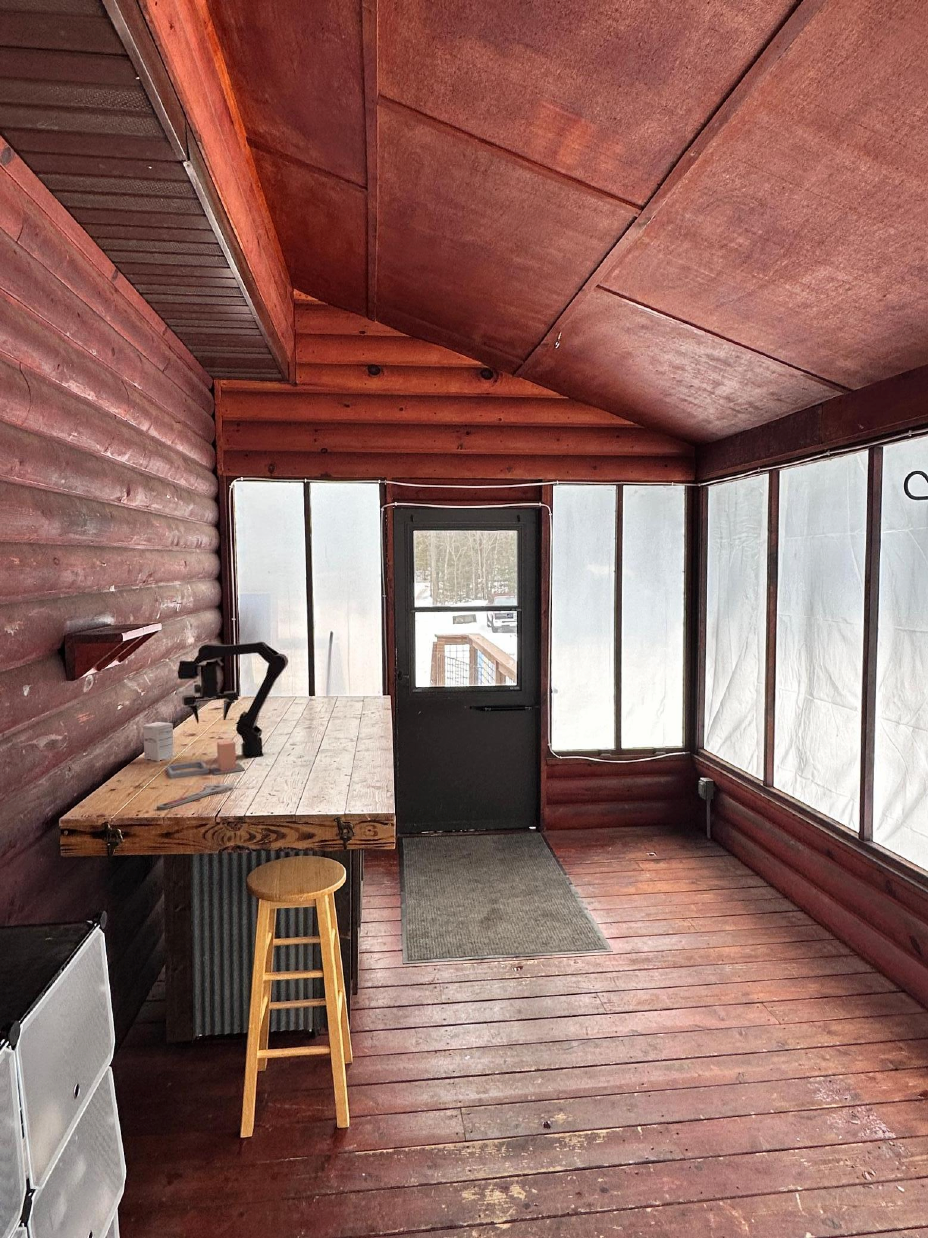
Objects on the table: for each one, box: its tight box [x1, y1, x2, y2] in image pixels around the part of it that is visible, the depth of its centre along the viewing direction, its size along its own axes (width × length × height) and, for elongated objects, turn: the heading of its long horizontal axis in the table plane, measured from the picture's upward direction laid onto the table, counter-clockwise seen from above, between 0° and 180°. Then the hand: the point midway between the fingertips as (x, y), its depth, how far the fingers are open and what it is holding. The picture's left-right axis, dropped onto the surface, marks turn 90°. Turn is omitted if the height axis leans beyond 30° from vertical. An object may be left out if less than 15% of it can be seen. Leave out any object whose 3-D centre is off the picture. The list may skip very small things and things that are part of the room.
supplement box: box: [142, 721, 175, 762], centre depth 264 cm, size 7×7×13 cm
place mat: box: [208, 762, 246, 776], centre depth 247 cm, size 10×10×1 cm
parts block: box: [216, 739, 237, 771], centre depth 247 cm, size 5×5×9 cm
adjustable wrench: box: [156, 781, 235, 810], centre depth 217 cm, size 8×26×2 cm, turn 142°
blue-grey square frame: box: [166, 760, 209, 779], centre depth 246 cm, size 12×12×2 cm
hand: (211, 721), depth 264 cm, fingers open, 9 cm apart
